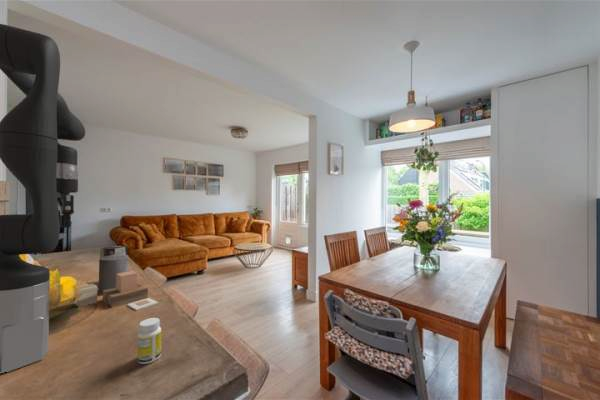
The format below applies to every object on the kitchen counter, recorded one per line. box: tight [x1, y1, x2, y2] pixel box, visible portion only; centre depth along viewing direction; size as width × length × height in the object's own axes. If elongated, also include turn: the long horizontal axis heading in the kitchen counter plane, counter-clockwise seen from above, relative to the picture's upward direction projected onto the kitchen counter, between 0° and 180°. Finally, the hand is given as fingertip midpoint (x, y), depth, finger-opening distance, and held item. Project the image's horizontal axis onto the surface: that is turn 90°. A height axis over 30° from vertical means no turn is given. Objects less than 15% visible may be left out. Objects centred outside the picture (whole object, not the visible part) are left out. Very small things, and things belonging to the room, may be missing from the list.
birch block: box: [75, 283, 98, 308], centre depth 87 cm, size 5×5×6 cm
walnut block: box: [102, 282, 149, 308], centre depth 91 cm, size 11×11×4 cm
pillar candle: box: [98, 254, 129, 295], centre depth 101 cm, size 10×10×15 cm
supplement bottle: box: [136, 317, 162, 365], centre depth 56 cm, size 5×5×8 cm
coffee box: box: [99, 245, 129, 259], centre depth 111 cm, size 9×6×16 cm
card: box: [126, 297, 159, 311], centre depth 86 cm, size 7×7×1 cm
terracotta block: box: [116, 270, 138, 293], centre depth 91 cm, size 5×5×6 cm
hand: (62, 226), depth 80 cm, fingers open, 8 cm apart
